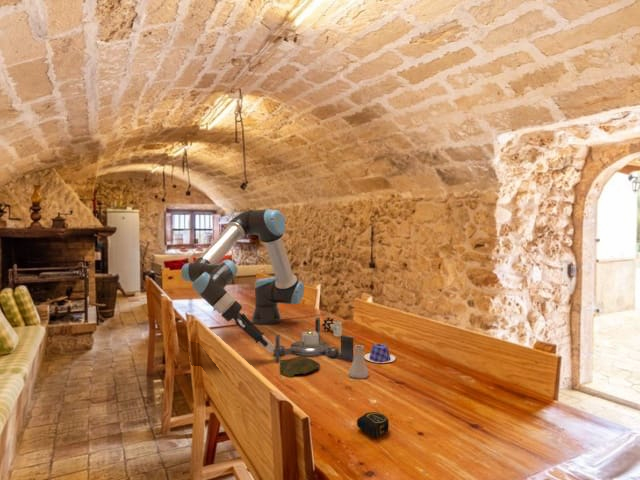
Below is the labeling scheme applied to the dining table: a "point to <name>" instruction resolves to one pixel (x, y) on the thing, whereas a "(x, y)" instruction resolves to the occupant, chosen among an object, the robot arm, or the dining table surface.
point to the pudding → (379, 354)
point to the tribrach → (321, 345)
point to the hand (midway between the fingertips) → (272, 349)
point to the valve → (333, 327)
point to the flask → (358, 364)
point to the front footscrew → (278, 349)
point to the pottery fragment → (297, 366)
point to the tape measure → (373, 423)
